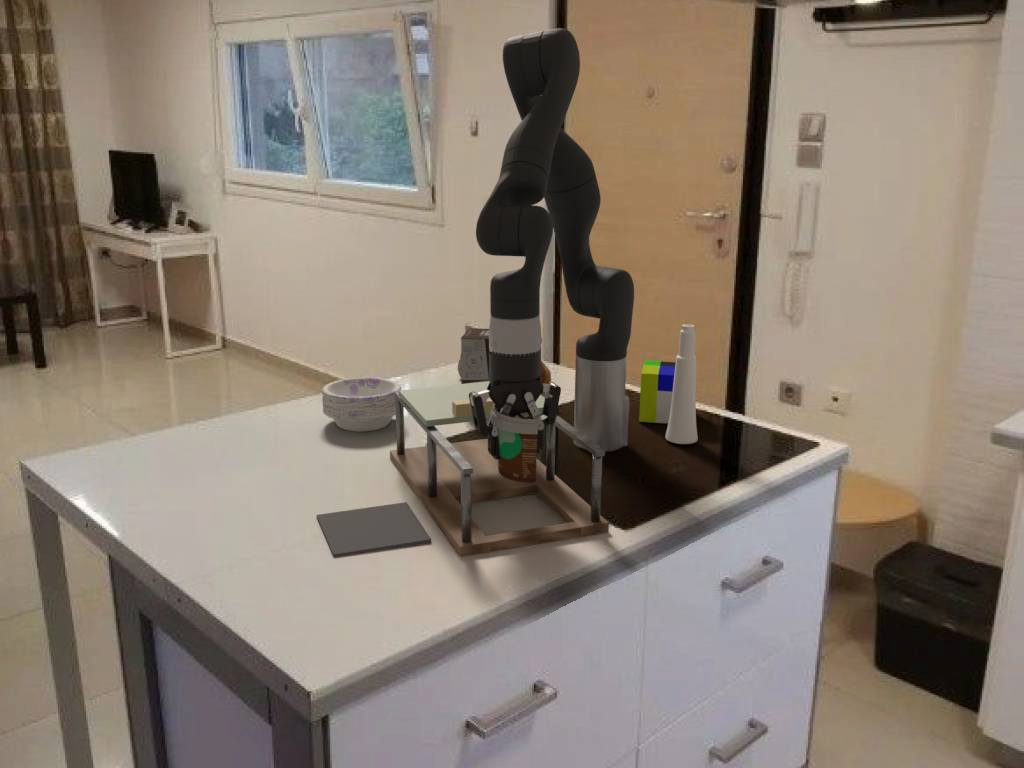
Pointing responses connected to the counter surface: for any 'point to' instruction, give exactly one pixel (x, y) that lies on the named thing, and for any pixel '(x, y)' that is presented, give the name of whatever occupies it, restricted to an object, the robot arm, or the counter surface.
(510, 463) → the food container
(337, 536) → the charcoal mat
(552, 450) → the cover rails
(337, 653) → the counter surface
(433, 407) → the sliding cover
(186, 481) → the counter surface
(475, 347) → the coffee box
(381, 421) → the paper bowls
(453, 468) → the wooden base board
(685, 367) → the cosmetic bottle
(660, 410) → the puzzle toy
